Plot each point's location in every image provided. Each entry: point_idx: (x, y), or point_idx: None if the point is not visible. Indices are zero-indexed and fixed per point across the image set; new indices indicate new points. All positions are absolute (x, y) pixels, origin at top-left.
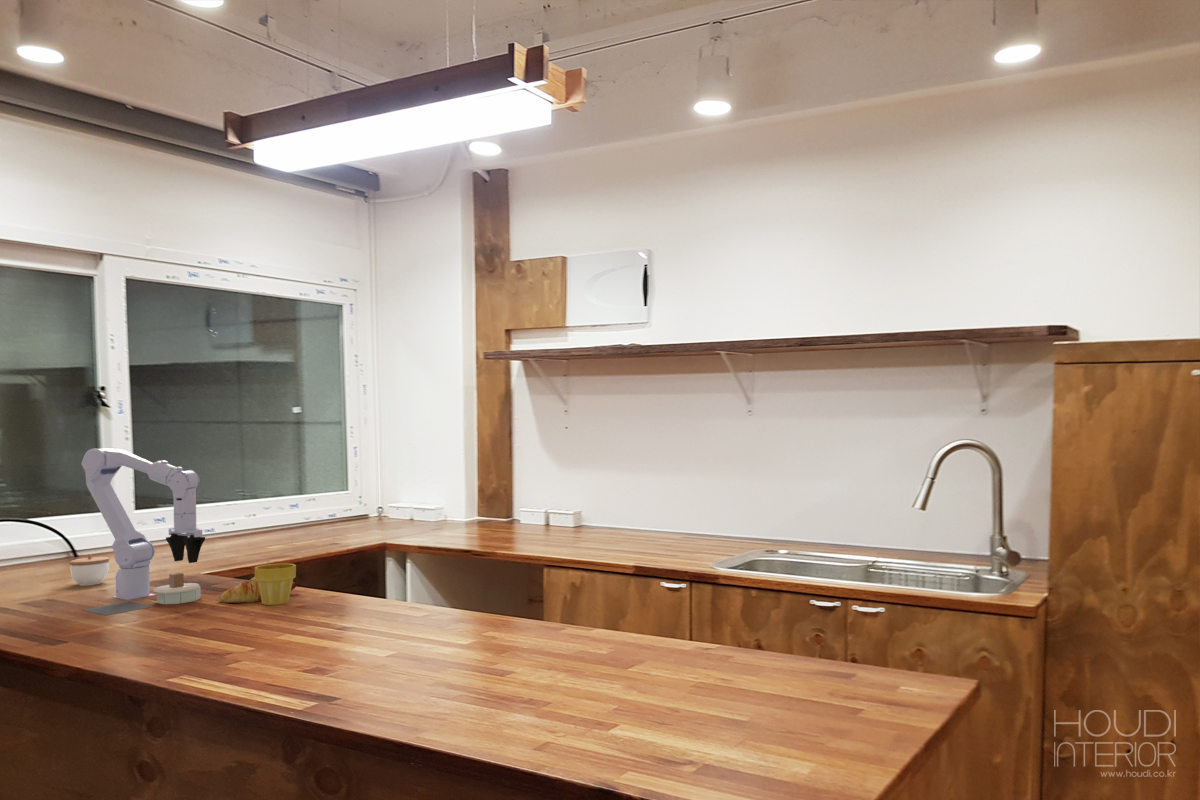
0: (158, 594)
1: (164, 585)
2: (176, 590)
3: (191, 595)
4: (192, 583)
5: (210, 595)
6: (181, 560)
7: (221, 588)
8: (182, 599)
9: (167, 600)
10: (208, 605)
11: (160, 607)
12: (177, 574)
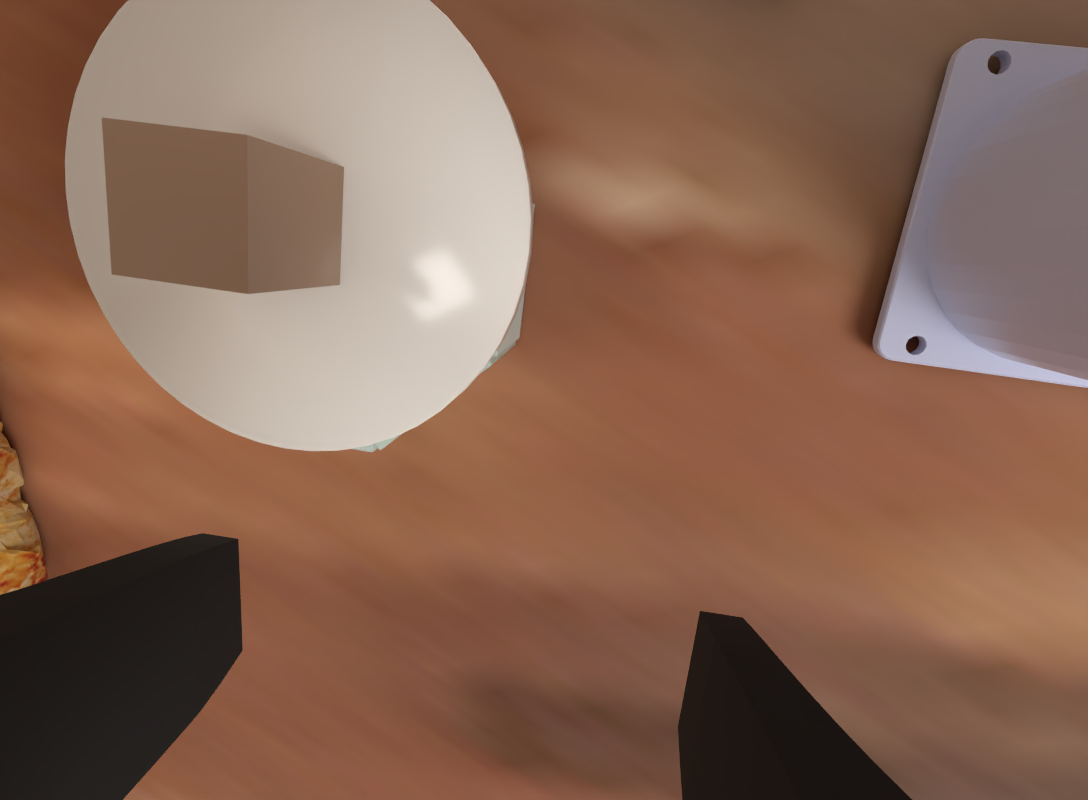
0: None
1: (524, 221)
2: (87, 81)
3: None
4: (326, 431)
5: (405, 548)
6: (682, 707)
7: (604, 773)
8: None
9: None
10: (14, 260)
11: None
12: (108, 179)
